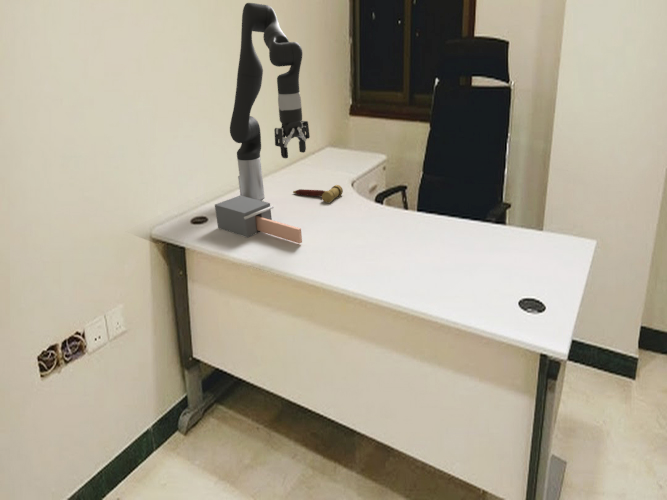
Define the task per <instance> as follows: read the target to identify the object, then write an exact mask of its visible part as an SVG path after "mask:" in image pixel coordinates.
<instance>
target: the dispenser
mask: <svg viewBox="0 0 667 500" xmlns="http://www.w3.org/2000/svg"><path fill="white" fill-rule="evenodd" d="M214 209H215V215H216V216H215V217H216V222H217V229H220V230H223V231H226V232H228V233H233V234H235V235H238V236H242V237H245V238H250V237H252V236H254V235H257V234H259V233H262V232H261V231H257V229H256V220H255V215H256V216H259V217H263V218H266V219H270V220H273V219H272V212H271V211H272V210H273V209H274V205H271V203H270V202H267V201H264V200H256V199H252V198H248V197H245V196H241V195H237V196H234V197H232V198H229V199H226V200H224V201H222V202H218V203H216V204H214Z"/></svg>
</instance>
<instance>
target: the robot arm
mask: <svg viewBox="0 0 667 500" xmlns="http://www.w3.org/2000/svg"><path fill="white" fill-rule="evenodd" d="M240 32H241V38H240V52H239V60H238V67H237V76H236V86H235V87H236V88H235V95H234V96H235V97H234V104H233V110H232V115H231V118H230V119H231V120H230V124H229V133H230V137H231V138H232V140H233V141H234V142H235V143H236V144H241V145H240V147H239V149H237V151H236V157H237V159H236V161H237V167H238V176H237V179H238V185H239V188H238V189H239V193H240V195H241V196H245V197H248V198H252V199H256V200H260V201H262V200H263V199H265V188H264V178H263V171H262V169H263V168H262V162H261V149H262V139H261V138H262V137H261V128H260V124H259V122H258V120H257V119H256V118H255V117H254V116H251V111H252V107H253V106H254V103H255V101H256V100H257V98H258V95H259V93H260V90H261V87H262V83H263V74H264V69H263V65H262V62H261V60H260V58H259V56H258V53H257V51H256V50H255V47H254V44H253V32H255V33H263V37H262V38H263V42H264V44H265V46H266V47H267V48H268V50H269V52H268V54H269V55H268V57H269V61H270V63H271V64H272V65H273V66H275V67H288V66H290V67H289V69H288V71H286V72H284V73H281V74H279V75H277V78H276V83H277V95H278V96H277V103H278V116H279V122H280V123H281V127H275V128H274V145H275V147H279V148H280V155H281V158H283V159H288V158H289V153H288V152H289V150H288V145H289V142H291V141H292V139H294V138H296V139H297V140H298V149H299V152H300V153H306V150H307V148H306V147H307V146H306V141H307V140H309V139H310V137H311V136H310V129H309V126H310V125H309V121H308V120H303V112H302V111H303V110H302V107H303V106H302V99H301V94H300V82H299V81H300V78H299V77H300V71H301V65H302V60H303V48H302V46H301V45H300V43H299V42H297V41H289V39H288V37H287V36H286V34H285V33H284V31H283V30H282V29H281V25H280V23H279V19H278V17H277V14H276V12H275V10H274V8H273V7H272V6H271V5H268V4H262V3H261V4H260V3H253V2H246V3H245V4H244V6H243V9H242V16H241V31H240ZM240 195H239V196H240Z"/></svg>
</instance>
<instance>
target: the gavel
mask: <svg viewBox="0 0 667 500" xmlns="http://www.w3.org/2000/svg"><path fill="white" fill-rule="evenodd" d="M343 192H344V189H343V187H342V186H341V185H339V184H336V185H334V186H332V187H331V188H330V189H329V190H322V189H302V188H301V189H296V190H293V192H292V193H293V194H295V195H297V196H302V197H303V196H307V197H321V199H322V201H323V202H324V203H331V202H333V201H334V199H336V198H337V197H340V196H341V195H343Z"/></svg>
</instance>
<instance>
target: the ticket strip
mask: <svg viewBox="0 0 667 500" xmlns="http://www.w3.org/2000/svg"><path fill="white" fill-rule="evenodd" d="M255 220H256V229H257V231H261V232H260V233H264V234H267V235H270V236H274V237H276V238H277V237H278V238H281V239H283V240H286V241H287V240H288V241H291V242H294V243H297V244H302V243H303V238H302V237H303V236H302V228H300V227H299V226H298V227H297V226H293V225H290V224H286V223H283V222H281V221H276V220H273V219H272V220H270V219H266V218H263V217H259V216H256V215H255Z"/></svg>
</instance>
